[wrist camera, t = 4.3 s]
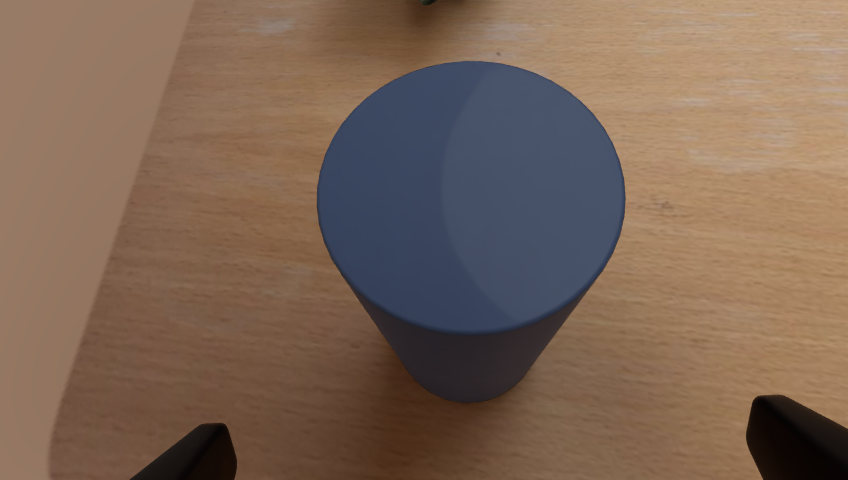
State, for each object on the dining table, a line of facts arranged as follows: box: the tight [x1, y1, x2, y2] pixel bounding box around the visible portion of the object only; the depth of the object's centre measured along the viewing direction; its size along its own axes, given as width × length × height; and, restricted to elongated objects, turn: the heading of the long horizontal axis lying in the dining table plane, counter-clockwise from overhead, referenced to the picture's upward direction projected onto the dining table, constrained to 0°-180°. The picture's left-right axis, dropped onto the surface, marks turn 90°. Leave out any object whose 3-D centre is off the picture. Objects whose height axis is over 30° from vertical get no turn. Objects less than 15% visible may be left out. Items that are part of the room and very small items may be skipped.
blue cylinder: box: [317, 61, 626, 403], centre depth 15 cm, size 6×6×12 cm
